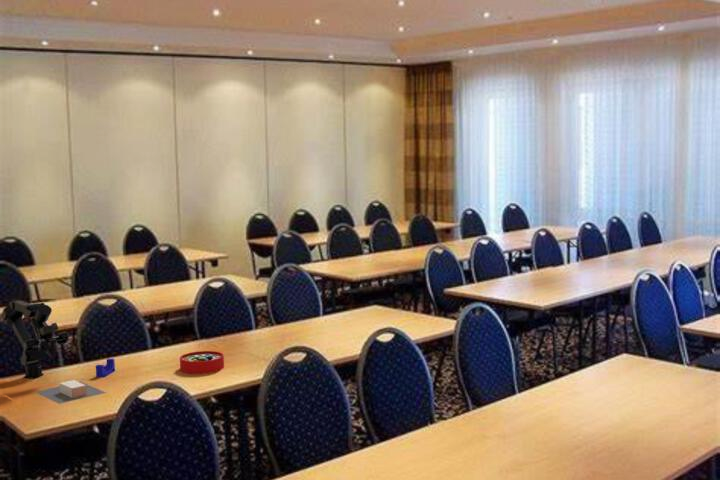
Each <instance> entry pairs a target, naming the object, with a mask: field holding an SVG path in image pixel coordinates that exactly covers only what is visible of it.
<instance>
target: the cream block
mask: <svg viewBox="0 0 720 480" xmlns="http://www.w3.org/2000/svg"><path fill="white" fill-rule="evenodd" d="M79 382H80V381H77V380H75V379H73V380H68V381H63V382H59V386H60V392H61V393H63V394H65V395H67V396H69V397H72V398H76V397H80V396H85V395H87V385H88V384H87V385H84V384H82V383H83V382H82V383H79Z"/></svg>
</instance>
